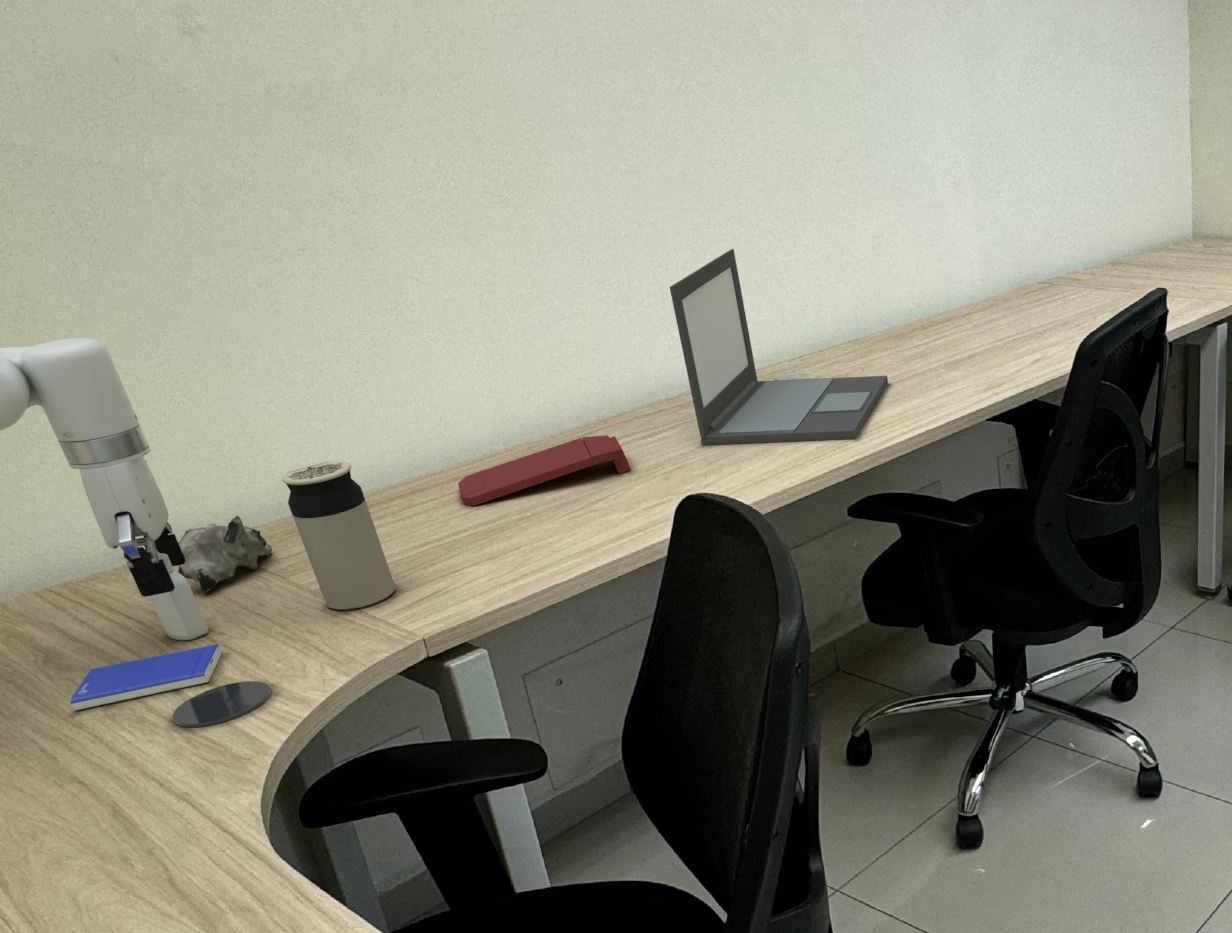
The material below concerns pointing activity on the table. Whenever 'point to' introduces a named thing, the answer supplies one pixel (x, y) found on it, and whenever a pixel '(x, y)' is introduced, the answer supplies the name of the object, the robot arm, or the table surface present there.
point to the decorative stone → (220, 552)
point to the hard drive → (146, 676)
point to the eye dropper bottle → (179, 607)
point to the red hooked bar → (541, 468)
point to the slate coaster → (221, 704)
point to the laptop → (728, 375)
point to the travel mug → (338, 535)
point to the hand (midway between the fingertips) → (165, 578)
